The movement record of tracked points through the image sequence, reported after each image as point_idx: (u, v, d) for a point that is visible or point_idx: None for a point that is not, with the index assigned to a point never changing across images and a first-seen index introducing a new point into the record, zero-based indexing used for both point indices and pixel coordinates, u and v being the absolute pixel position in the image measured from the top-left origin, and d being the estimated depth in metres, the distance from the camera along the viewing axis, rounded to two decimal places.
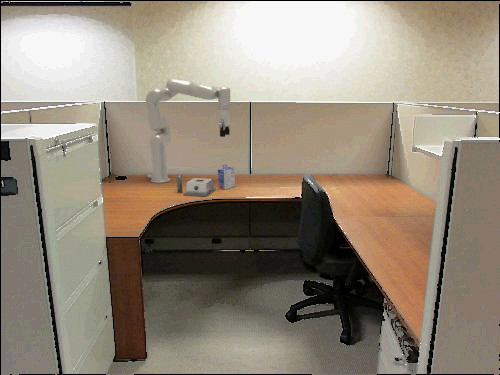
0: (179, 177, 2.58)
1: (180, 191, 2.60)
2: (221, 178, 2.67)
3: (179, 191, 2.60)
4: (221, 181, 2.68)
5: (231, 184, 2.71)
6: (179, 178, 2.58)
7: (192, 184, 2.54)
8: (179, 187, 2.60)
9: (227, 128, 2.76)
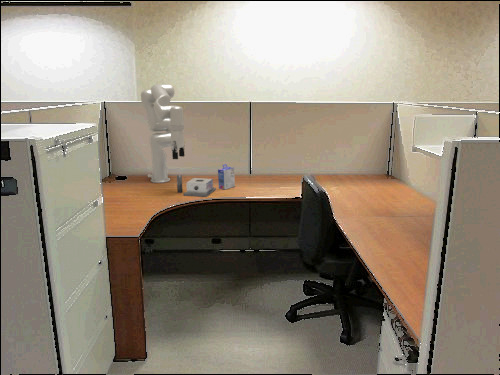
0: (179, 177, 2.58)
1: (180, 191, 2.60)
2: (221, 178, 2.67)
3: (179, 191, 2.60)
4: (221, 181, 2.68)
5: (231, 184, 2.71)
6: (179, 178, 2.58)
7: (192, 184, 2.54)
8: (179, 187, 2.60)
9: (182, 149, 2.60)
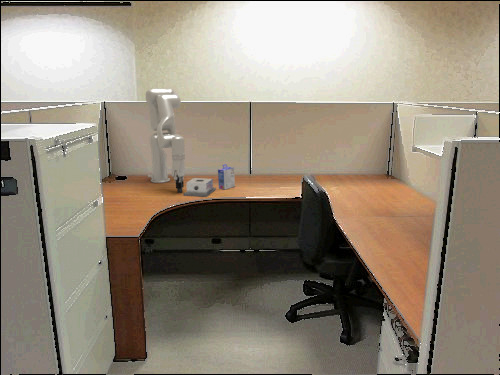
0: None
1: (180, 191, 2.60)
2: (221, 178, 2.67)
3: (179, 191, 2.60)
4: (221, 181, 2.68)
5: (231, 184, 2.71)
6: None
7: (192, 184, 2.54)
8: None
9: None
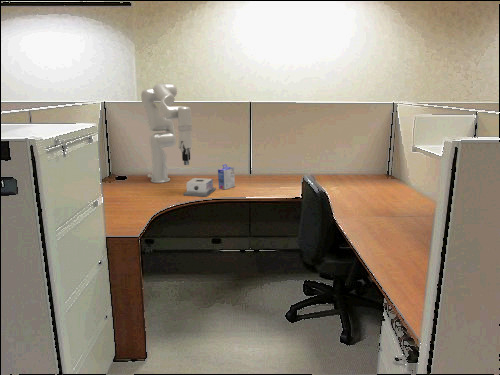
0: None
1: (187, 163, 2.56)
2: (221, 178, 2.67)
3: (186, 163, 2.56)
4: (221, 181, 2.68)
5: (231, 185, 2.71)
6: None
7: (192, 184, 2.54)
8: None
9: None
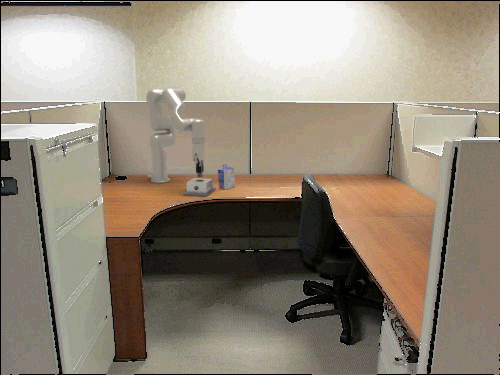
0: None
1: (200, 175, 2.57)
2: (221, 178, 2.67)
3: (199, 175, 2.57)
4: (221, 181, 2.68)
5: (231, 184, 2.71)
6: None
7: (192, 184, 2.54)
8: None
9: None
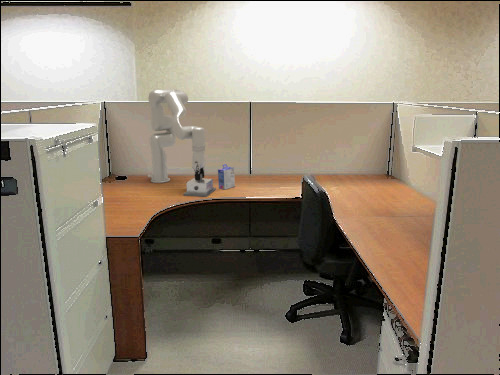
0: None
1: None
2: (221, 178, 2.67)
3: None
4: (221, 181, 2.68)
5: (231, 185, 2.71)
6: None
7: (192, 184, 2.54)
8: None
9: (201, 170, 2.61)
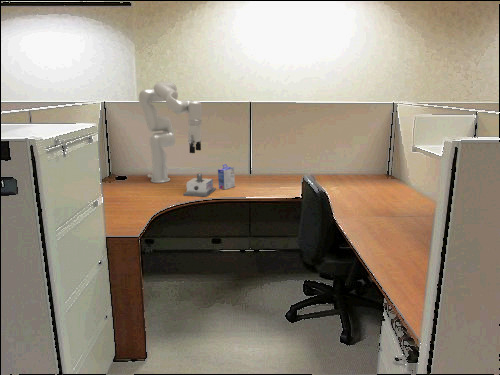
0: (199, 175, 2.57)
1: None
2: (221, 178, 2.67)
3: None
4: (221, 181, 2.68)
5: (231, 185, 2.71)
6: (199, 176, 2.57)
7: (192, 184, 2.54)
8: None
9: (198, 143, 2.65)
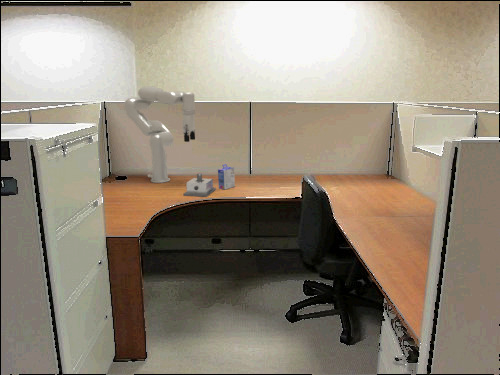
0: (199, 175, 2.57)
1: None
2: (221, 178, 2.67)
3: None
4: (221, 181, 2.68)
5: (231, 184, 2.71)
6: (199, 176, 2.57)
7: (192, 184, 2.54)
8: None
9: (192, 133, 2.76)
